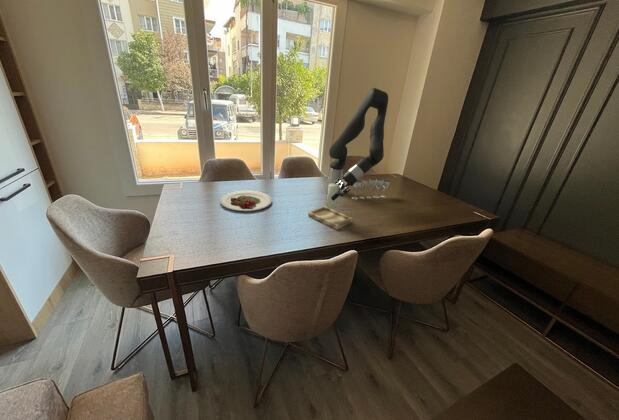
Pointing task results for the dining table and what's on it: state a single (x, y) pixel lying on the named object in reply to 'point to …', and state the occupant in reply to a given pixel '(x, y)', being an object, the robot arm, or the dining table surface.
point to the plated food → (246, 200)
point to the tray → (330, 217)
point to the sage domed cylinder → (331, 191)
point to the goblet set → (371, 186)
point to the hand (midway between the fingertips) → (329, 196)
